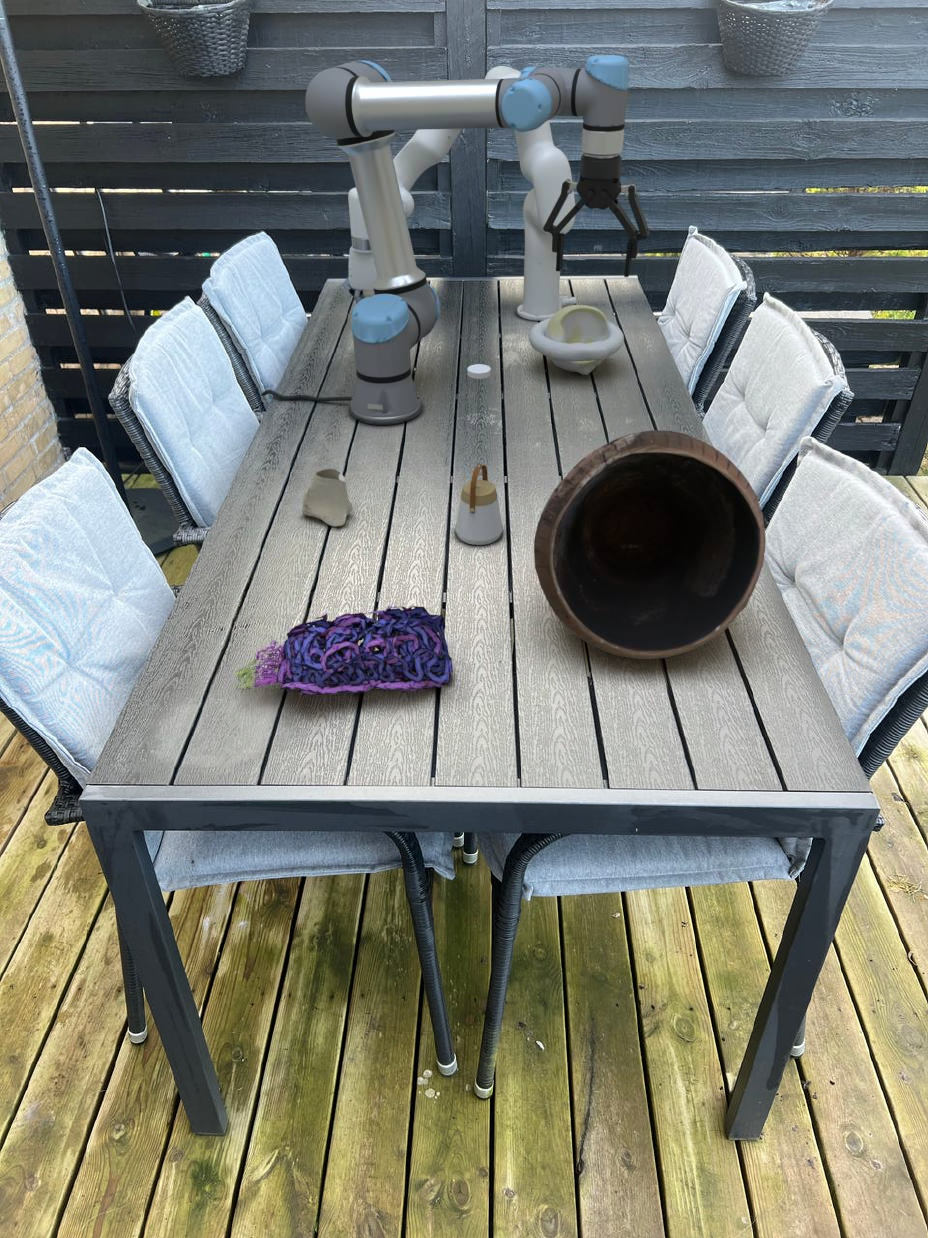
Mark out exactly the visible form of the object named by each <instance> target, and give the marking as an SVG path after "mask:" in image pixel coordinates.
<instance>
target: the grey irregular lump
mask: <svg viewBox="0 0 928 1238" xmlns="http://www.w3.org/2000/svg"><path fill="white" fill-rule="evenodd" d="M347 489H348V488H347V480H346V478H345V476H344V475H343V474H342V473H341V472H340V471H338V470H337V469H334V468H326V469H321V470H319V471H316V473H315V475H314V476H313V478H312V481H311V482H310V485H309V486H308V487H307V490H306V491H305V493H304V496H303V498H302V508H301V513H302V514H303V515H305V516H307V517H314V518H317V519H319V520H322V521H323V522H324V523H325V524H327V525H328V526H330V527H334V528H336V527H342V526H344V525H345V524H346V520H347V516H348V515H349V514H351V512H352V511H353V503H352V502H351V501H350V499H349V495H348V490H347Z"/></svg>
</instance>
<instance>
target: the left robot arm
mask: <svg viewBox="0 0 928 1238" xmlns="http://www.w3.org/2000/svg"><path fill="white" fill-rule="evenodd" d="M629 66H630V64H629V60H628V59H627V58H626V57H625V56H622V55H617V54H595V55H591V56H589V57H588V58H587V60H586V64H585V67H582V68H571V67H570V68H569V67H568V68H567V67H550V66H545V65H538V66H527V67H526V66H525V68H523V69H522V70H521V71H520V72H521V75H520V76H519V78H506V79H485V78H481V79H480V78H478V79H477V78H475V79H473V78H472V79H448V80H446V79H444V80H418V81H417V80H415V81H413V80H412V81H393V80H392V78H391V77H390V75H389V74H388V73H387V71H386V69H384V68H382V67H381V65H379V64H377V63H375V62H373V61H371V60H364V59H363V60H350V61H348V62H345V63H343V64H340V65H337V66H333V67H330V68H326V69H324V70H321V71H320V72H319V73H317V74H315V76H314V77H313V78H312V79H311V81H310V82H309V84H308V86H307V89H306V92H305V99H304V101H305V102H304V103H305V111H306V115H307V117H308V120H309V121H310V123H311V125H312V126H313V127H314V128H315V130H317V132H319V133H320V134H321V135H323V136H325V137H327V138H329V139H333V140H336V143H337V144H336V145H337V147H338V148H339V149H340V150H342V151H343V152H344V153H345V154H346V155H347V156H348V157H347V158H348V161H349V164H350V169H351V173H352V177H353V180H354V181H353V182H354V185H355V187H356V190H357V194H358V198H359V202H360V206H361V210H362V214H363V218H364V222H365V226H366V230H367V235H368V239H369V243H370V247H371V251H372V255H373V259H374V263H375V267H376V272H377V278H376V280H375V282H374V284H373V289H374V293H375V295H372V297H366V298H364V299H362V300H360V301H359V302H358V303H357V304H356V303H355V305H354V307H353V308H352V310H351V311H352V312H351V322H350V324H351V331H352V341H353V352H354V363H355V364H354V365H355V373H356V374H355V375H356V379H355V383H354V388H353V395H352V396H329V397H328V396H327V397H326V396H325V397H319V396H314V395H313V396H312V395H308V394H295V395H283V394H280V393H278V392H276V391H275V390H272V389H266V390H263V392H262V393H261V394H260V395H261V396H262V397H266V396H267V395H272V396H274V397H275V398H278V399H280V400H285V401H293V400H309V401H314V402H350V413H351V415H352V417H353V418H354V419H356V420H357V421H359V422H362V423H364V424H369V425H375V426H393V425H398V424H403V423H406V422H409V421H411V420H413V419H415V418H417V416H419V415H420V413H421V411H422V401H421V396H420V395H419V393H418V390H417V386H416V385H415V381H414V378H413V377H412V363H411V362H412V361H411V350H412V349H413V348H414V347H415V346H416V345H417V344H418V343H419V342H420V341H422V340H423V339H424V338H426V337H427V336H428V335H429V334H430V333H431V332H432V330H433V329H434V328H435V327H436V325H437V324H438V321H439V318H440V314H441V302H440V299H439V295H438V293H437V291H436V290H435V288H434V287H432V286H431V285H430V283H429V282H428V279H427V275H426V273H425V272H424V271H423V270H421V269H420V268H419V267H417V262H416V258H415V257H416V256H415V253H414V249H413V244H412V239H411V236H410V231H409V227H408V222H407V219H406V217H405V212H404V207H403V203H402V198H401V194H400V189H399V185H398V180H397V176H396V171H395V167H394V162H393V159H394V158H393V153H392V149H391V142H392V141H393V139H394V137H395V136H396V131H410V130H412V131H414V130H416V131H417V130H419V129H462V130H463V129H512V130H513V131H514V130H516V131H519V132H527V131H532V130H535V129H537V128H539V127H540V126H542V125H543V124H544V123H545V122H546V121H548V120H549V121H550V120H551V119H553V118H554V117H575V118H576V117H582V133H581V147H580V151H581V152H582V153H583V154H582V155H581V156H580V162H579V163H580V165H579V166H580V167H579V180H578V182H577V181H573V180H572V181H571V180H570V179H566V180H565V181H564V182H563V184H562V189H561V194H560V196H559V198H558V200H557V202H556V204H555V206H554V208H553V210H552V212H551V214H550V216H549V217H548V219H547V221H546V223H545V225H544V227H543V230H544V231H545V232H549V233H551V234H552V252H557V257H556V271H560V272H561V270H562V269H563V266H564V246H565V245H564V244H565V234H564V233H560V231H561V230H562V229H563V228H564V227H565V226H566V225H567V224H568V223H569V221H570V220H571V219H572V218H573V217H574V216H575V215H577V214H578V213H579V211H581V209H582V208H583V207H584V206H585V207H586V208H588V209H590V210H593V209H598V210H602V211H603V210H604V211H605V210H607V209H609V210H610V211H611V213H612V214H613V215H614V216H615V217H616V220H618V222H619V224H620V225H621V226H622V229H624V231H625V232H626V234H627V235H628V237H629V239H628V240H627V243H626V253H625V264H624V274H623V275H624V276H623V277H624V278H629V276H630V275H631V270H632V259H633V260H635V259H636V258H637V256H638V254H639V247H640V246H639V244H640V241H642V240H646V239H648V237H649V236H650V228H649V226H648V224H647V223H648V222H647V221H646V217H645V215H644V212H643V209H642V207H641V204H640V200H639V198H638V185H637V183H635V182H632V183H630V184H622V182H621V174H622V164H623V163H622V162H623V157H622V156H621V153H623V149H624V138H625V125H626V124H625V123H626V115H627V114H626V113H627V102H628V94H629V89H630V86H629V72H630V71H629V68H630V67H629ZM573 190H576V192H577V193H578V196H579V197H580V199H579V200H578V201H577V202H576V203H575V206H574V207H573V208H572V209H571V211H570V212H569V213H568V214H567V215H566V216H565V217H564V218H563V219H562V221H561V222H560V223H559V224H558V225H557V226H555V225H553V223H554V222H555V220H556V218H557V216H558V214H559V212H560V210H561V208H562V206H563V205H564V203H565V201H566V199H567V197H568V195H569V194H571V193H572V192H573ZM621 193H623V194H624V197H625V198H626V199H628V204H629V205H630V206H629V207H630V209H631V213H632V215H633V218H634V221H635V223H636V225H637V226H635V225H634V223H633V221H632V220H631V219H630V217H629V216H628V214H627V212H626V211H625V209H624V208H623V207H622V205H621V202H620V201H619V199H618V197H619V196H620V195H621ZM575 217H576V216H575ZM637 228H638V229H637Z"/></svg>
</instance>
